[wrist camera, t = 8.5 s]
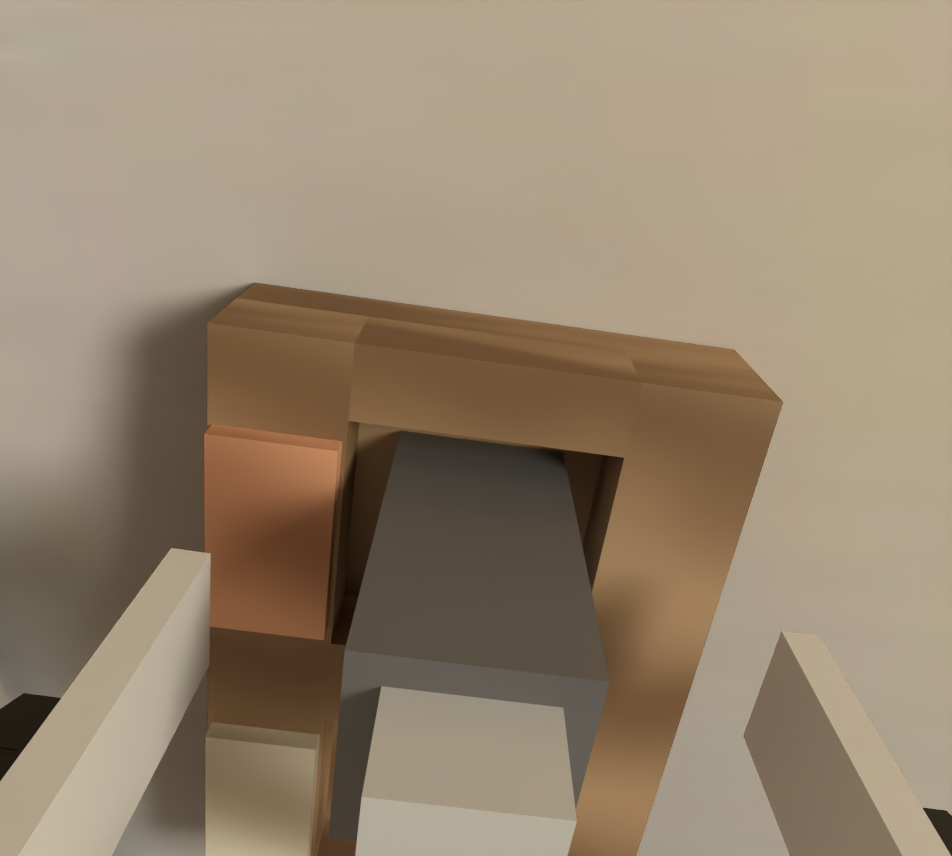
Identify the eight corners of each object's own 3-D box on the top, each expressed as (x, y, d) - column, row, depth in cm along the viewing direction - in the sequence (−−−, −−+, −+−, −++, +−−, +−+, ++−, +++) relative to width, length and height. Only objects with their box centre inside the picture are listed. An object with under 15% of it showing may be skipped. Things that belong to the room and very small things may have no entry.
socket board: (591, 844, 27) (608, 965, 23) (242, 805, 26) (202, 922, 22) (734, 349, 19) (791, 411, 16) (254, 282, 19) (198, 329, 15)
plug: (535, 586, 21) (572, 987, 11) (385, 567, 20) (302, 958, 11) (563, 452, 19) (632, 793, 10) (401, 430, 19) (317, 757, 10)
